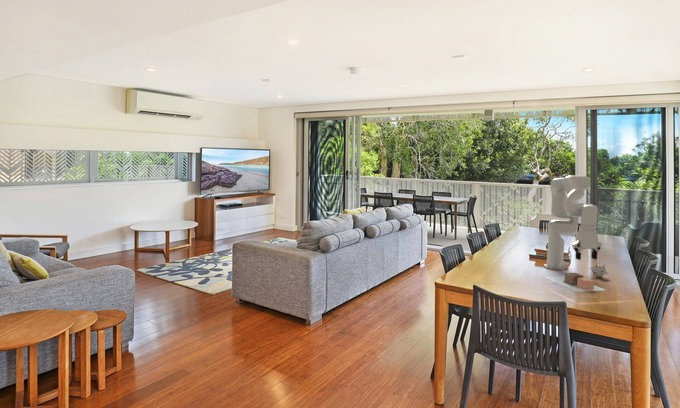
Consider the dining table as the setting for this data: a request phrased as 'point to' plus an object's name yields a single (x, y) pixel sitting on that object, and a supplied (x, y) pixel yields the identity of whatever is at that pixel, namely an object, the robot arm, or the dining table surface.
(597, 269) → the grey spiky ball
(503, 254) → the dining table surface
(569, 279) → the walnut block
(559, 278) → the blueprint board
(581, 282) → the terracotta block
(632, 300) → the dining table surface
